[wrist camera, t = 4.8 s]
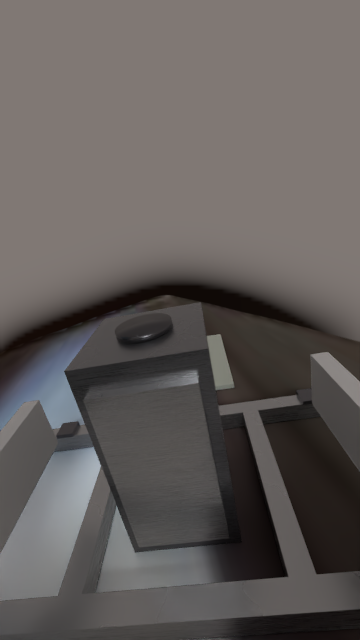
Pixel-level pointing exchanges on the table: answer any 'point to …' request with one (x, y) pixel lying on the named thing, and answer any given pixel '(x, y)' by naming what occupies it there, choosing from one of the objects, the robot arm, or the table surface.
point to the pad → (219, 363)
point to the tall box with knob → (158, 427)
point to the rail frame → (202, 599)
